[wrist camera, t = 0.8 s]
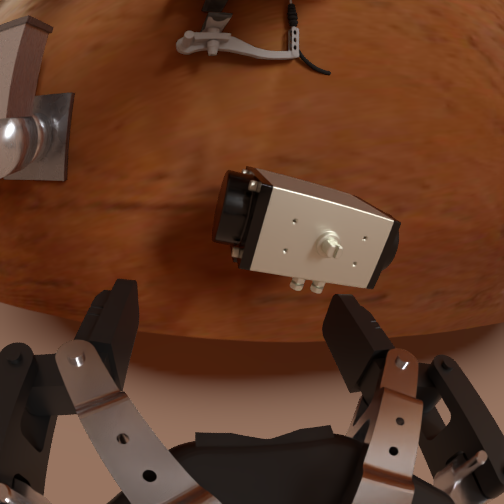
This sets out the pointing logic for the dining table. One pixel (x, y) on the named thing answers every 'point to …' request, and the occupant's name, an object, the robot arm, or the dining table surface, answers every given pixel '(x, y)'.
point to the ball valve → (303, 230)
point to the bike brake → (218, 41)
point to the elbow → (19, 90)
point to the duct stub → (50, 138)
